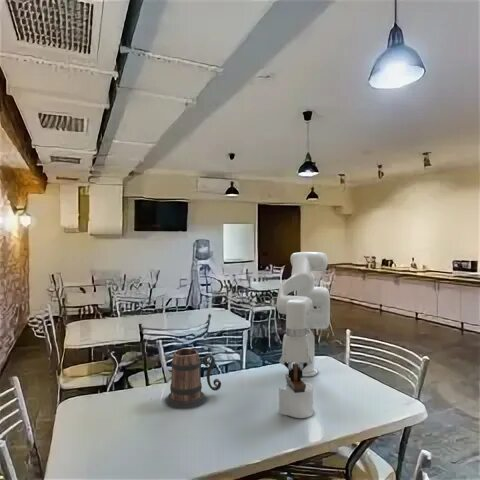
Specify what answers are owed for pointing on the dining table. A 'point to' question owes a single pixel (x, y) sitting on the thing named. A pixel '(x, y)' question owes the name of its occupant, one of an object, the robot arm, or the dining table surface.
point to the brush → (295, 380)
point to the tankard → (188, 379)
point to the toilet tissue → (296, 402)
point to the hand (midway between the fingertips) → (295, 379)
